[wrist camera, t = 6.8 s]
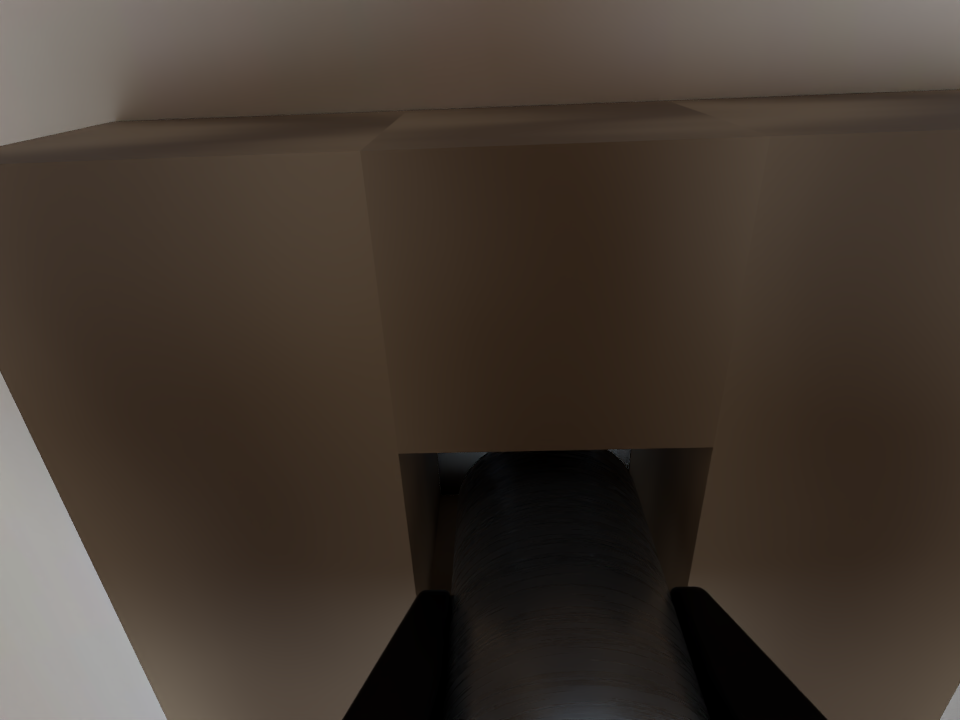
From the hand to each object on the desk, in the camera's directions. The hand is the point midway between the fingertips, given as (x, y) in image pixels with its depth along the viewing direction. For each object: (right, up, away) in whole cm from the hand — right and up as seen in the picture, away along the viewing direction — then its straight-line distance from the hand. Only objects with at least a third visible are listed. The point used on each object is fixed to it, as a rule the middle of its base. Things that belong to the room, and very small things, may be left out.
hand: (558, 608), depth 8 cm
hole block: (0, +2, +4) cm, 5 cm away
